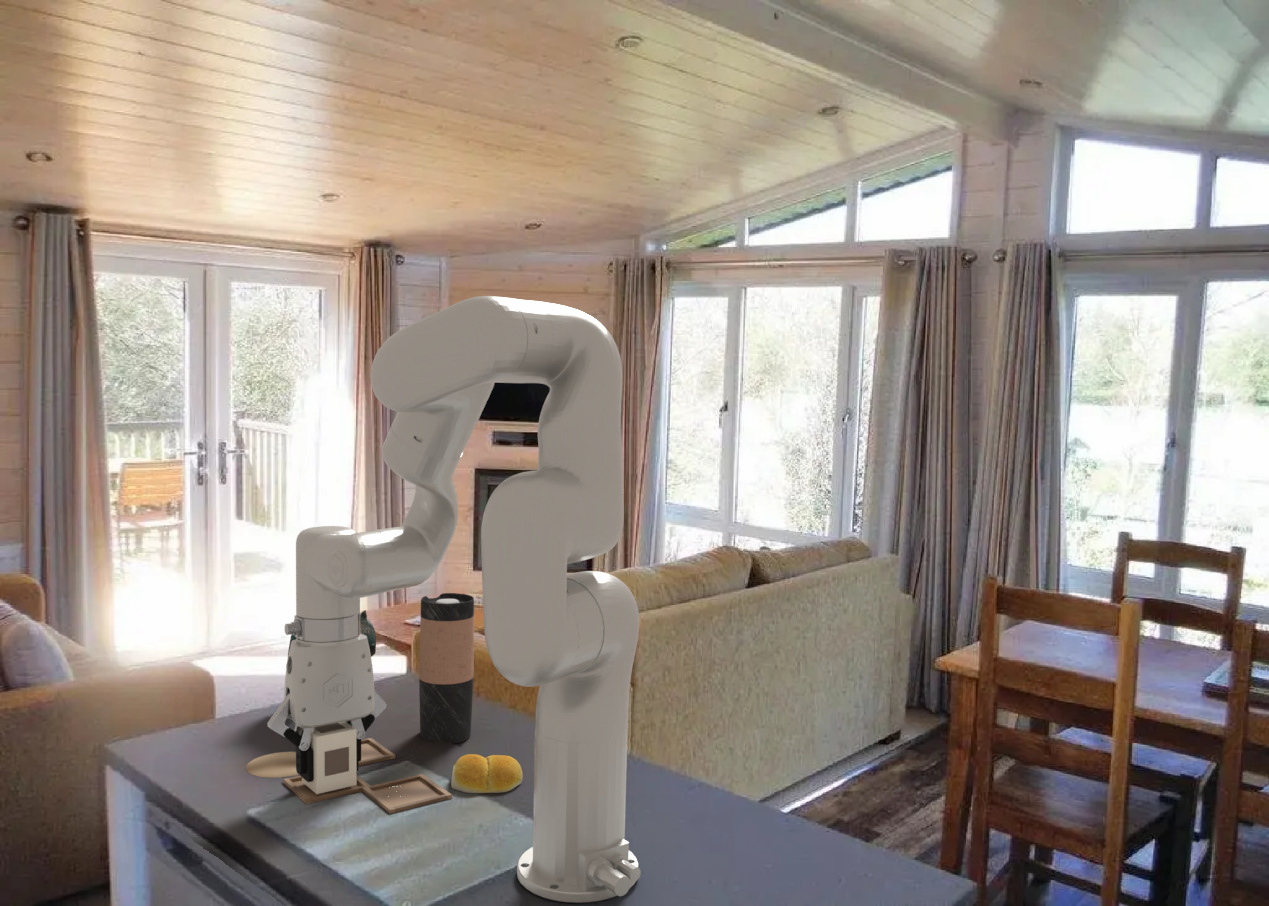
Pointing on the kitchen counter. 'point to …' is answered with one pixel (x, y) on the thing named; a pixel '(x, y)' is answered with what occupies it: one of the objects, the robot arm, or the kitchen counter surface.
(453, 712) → the travel mug
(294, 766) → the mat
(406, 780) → the tray
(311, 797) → the tray
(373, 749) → the tray
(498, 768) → the bread roll
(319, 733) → the white box with panels
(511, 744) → the kitchen counter surface
